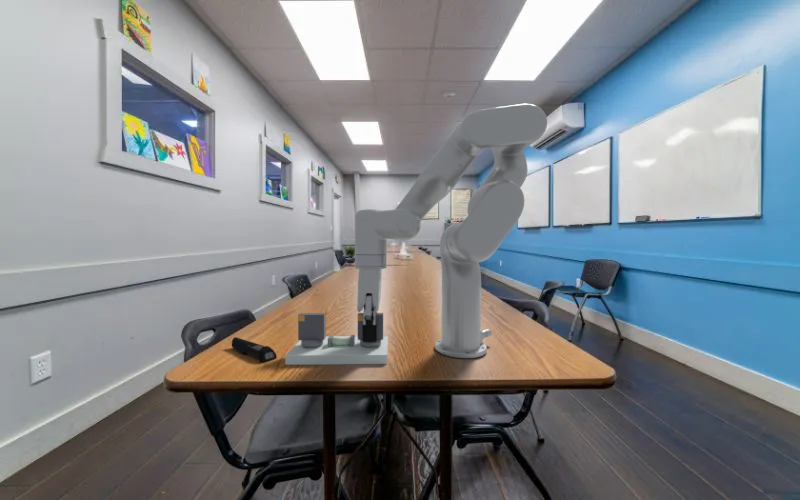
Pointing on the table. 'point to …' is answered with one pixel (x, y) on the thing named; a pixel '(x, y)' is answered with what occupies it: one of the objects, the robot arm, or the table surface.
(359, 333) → the knob
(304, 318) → the knob
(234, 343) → the electric trimmer
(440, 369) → the table surface
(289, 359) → the level plate
